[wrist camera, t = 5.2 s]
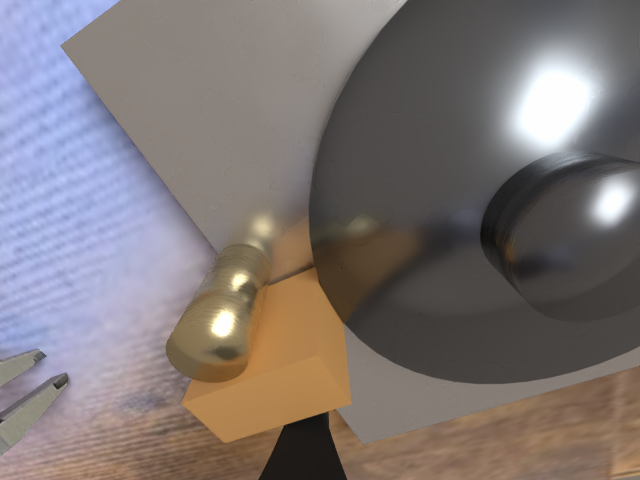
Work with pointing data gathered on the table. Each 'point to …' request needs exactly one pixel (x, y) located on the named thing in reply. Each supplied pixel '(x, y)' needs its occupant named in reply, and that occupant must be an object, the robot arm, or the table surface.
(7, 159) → the table surface
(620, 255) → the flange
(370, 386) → the base plate
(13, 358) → the caliper
